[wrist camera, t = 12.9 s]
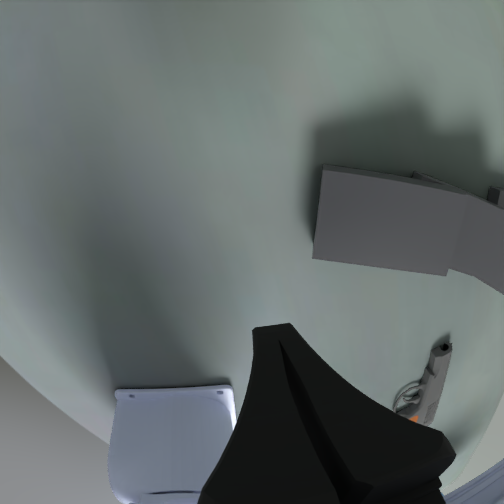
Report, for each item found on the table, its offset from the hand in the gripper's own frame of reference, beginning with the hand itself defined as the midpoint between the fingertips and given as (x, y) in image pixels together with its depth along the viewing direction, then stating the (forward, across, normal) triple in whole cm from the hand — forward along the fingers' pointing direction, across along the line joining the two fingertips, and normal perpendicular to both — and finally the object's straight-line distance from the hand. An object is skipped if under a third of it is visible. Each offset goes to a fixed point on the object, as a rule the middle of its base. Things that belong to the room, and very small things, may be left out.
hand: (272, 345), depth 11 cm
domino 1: (+7, -4, -2) cm, 8 cm away
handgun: (+9, -15, +21) cm, 27 cm away
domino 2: (+7, -10, -2) cm, 12 cm away
